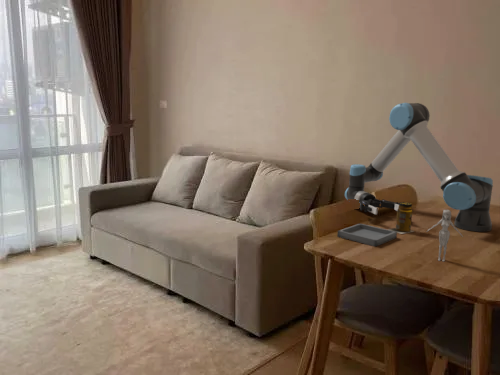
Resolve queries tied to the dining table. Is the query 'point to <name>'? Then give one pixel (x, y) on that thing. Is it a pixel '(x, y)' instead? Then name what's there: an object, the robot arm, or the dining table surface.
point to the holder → (367, 234)
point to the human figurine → (444, 231)
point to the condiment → (403, 218)
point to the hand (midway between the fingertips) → (390, 210)
